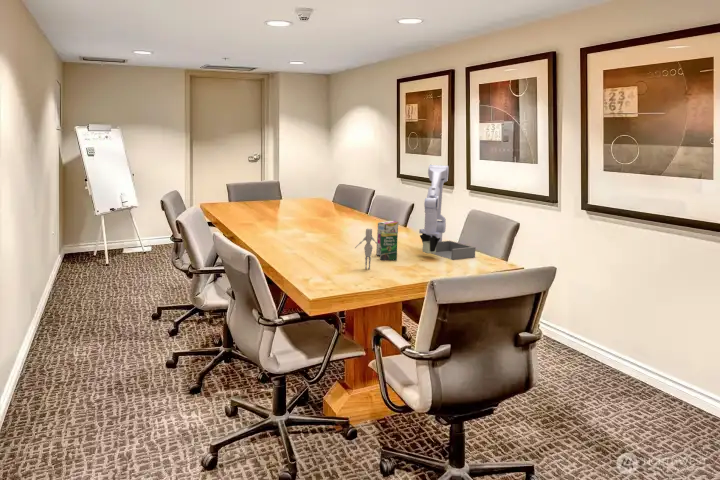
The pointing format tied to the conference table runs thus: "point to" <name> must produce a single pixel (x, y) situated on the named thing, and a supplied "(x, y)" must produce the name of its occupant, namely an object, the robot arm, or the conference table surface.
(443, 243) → the open box
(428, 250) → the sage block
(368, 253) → the human figurine
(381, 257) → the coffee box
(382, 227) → the candy bar box
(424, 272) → the conference table surface
